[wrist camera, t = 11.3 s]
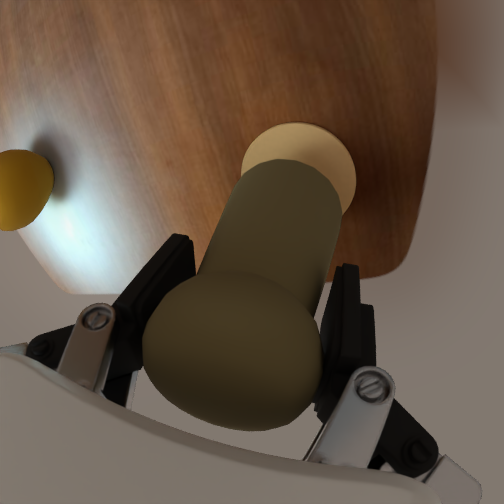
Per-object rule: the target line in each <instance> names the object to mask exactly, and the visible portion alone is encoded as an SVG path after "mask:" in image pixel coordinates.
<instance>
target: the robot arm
mask: <svg viewBox="0 0 504 504" xmlns="http://www.w3.org/2000/svg"><path fill="white" fill-rule="evenodd" d="M194 276H196V268H195V258H194V246H193V241H192V240H189V237H188V236H187V235H182V234H176V233H174V234H172V235H171V236H170V237H169V239H168V240H167V241H166V242H165V243H164V244H163V245H162V246H161V248H160V249H159V250H158V251H157V252H156V253H155V254H154V256H153V257H152V258H151V259H150V260H149V261H148V263H147V264H146V265H145V266H144V267H143V268H142V269H141V271H140V272H139V273H138V274H137V275H136V276H135V278H134V279H133V280H132V281H131V282H130V284H129V285H128V286H127V287H126V289H125V290H124V291H123V292H122V293H121V295H120V296H119V297H118V298H117V300H116V301H115V302H114V303H113V305H112V306H110V305H108V304H106V303H96V304H92V305H90V306H88V307H86V308H85V309H84V310H83V311H82V312H81V313H80V315H79V317H78V319H77V321H76V324H74V325H70V326H67V327H64V328H61V329H57V330H54V331H51V332H47V333H44V334H41V335H38V336H36V337H35V338H34V339H32V341H31V342H30V343H29V344H28V343H21V344H16V345H11V346H6V347H1V348H0V504H479V502H480V500H481V497H482V488H481V485H480V484H479V482H478V481H477V480H476V479H475V478H473V477H472V476H471V475H469V474H468V473H467V472H466V471H465V470H464V469H462V468H461V467H460V466H459V465H458V464H456V463H455V462H454V461H453V460H451V459H450V458H449V457H448V456H447V455H444V456H442V455H441V454H439V452H438V446H437V443H436V441H435V440H434V438H433V437H432V436H431V435H430V434H429V433H428V432H427V431H426V430H425V429H424V428H423V427H422V426H421V425H420V424H419V423H418V422H417V421H416V420H415V419H414V418H413V417H412V416H411V415H410V414H409V413H408V412H407V411H406V410H405V409H404V408H403V407H402V406H401V405H400V404H399V403H398V402H397V401H396V400H395V399H394V395H395V384H394V381H393V379H392V377H391V376H390V375H389V374H388V373H387V372H386V371H385V370H383V369H381V368H379V367H376V342H375V321H374V309H373V306H372V305H368V304H362V303H361V302H360V279H359V266H357V265H352V264H346V263H343V265H342V267H340V266H337V267H336V271H335V275H334V279H333V282H332V286H331V290H330V294H329V297H328V301H327V304H326V308H325V311H324V315H323V318H322V323H321V328H320V338H321V342H322V347H323V352H324V365H323V374H322V377H321V380H320V384H319V387H318V390H317V392H316V394H315V396H314V398H313V401H312V403H315V407H314V411H316V412H317V417H318V418H319V419H320V421H321V422H322V425H321V427H320V429H319V431H318V433H317V434H316V436H315V438H314V440H313V441H312V443H311V445H310V447H309V448H308V450H307V452H306V453H305V455H304V457H303V458H302V460H295V459H289V458H283V457H278V456H273V455H267V454H263V453H259V452H254V451H250V450H246V449H242V448H238V447H233V446H230V445H226V444H223V443H219V442H216V441H212V440H209V439H205V438H202V437H199V436H196V435H193V434H190V433H187V432H184V431H181V430H179V429H176V428H173V427H170V426H167V425H165V424H162V423H160V422H157V421H155V420H152V419H150V418H147V417H145V416H142V415H140V414H138V413H135V412H133V411H131V407H132V402H133V396H134V391H135V385H136V380H137V375H138V370H141V368H142V366H144V365H143V349H142V337H143V334H144V331H145V327H146V324H147V321H148V320H149V318H150V317H151V315H152V314H153V312H154V311H155V309H156V308H157V306H158V305H159V304H160V302H161V301H162V299H163V298H164V297H165V295H166V294H167V293H168V292H170V291H171V290H172V289H174V288H175V287H176V286H178V285H179V284H180V283H182V282H184V281H186V280H188V279H190V278H192V277H194Z"/></svg>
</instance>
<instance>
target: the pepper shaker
mask: <svg viewBox="0 0 504 504" xmlns="http://www.w3.org/2000/svg"><path fill="white" fill-rule="evenodd" d="M341 220H342V207H341V203H340V199H339V195H338V193H337V192H336V190H335V188H334V187H333V185H332V184H331V182H330V180H329V179H328V178H326V177H325V176H324V175H323V174H322V173H320V172H319V171H318V170H317V169H315V168H314V167H312V166H309V165H307V164H304V163H302V162H299V161H297V160H287V159H274V160H270V161H266V162H262V163H258V164H257V165H255V166H254V167H252V168H251V169H249V170H248V171H246V172H245V173H244V174H243V175H242V177H241V178H240V179H239V181H238V182H237V183H236V185H235V186H234V188H233V191H232V193H231V195H230V197H229V200H228V202H227V204H226V206H225V209H224V211H223V213H222V216H221V218H220V220H219V222H218V225H217V227H216V229H215V232H214V234H213V236H212V239H211V241H210V243H209V246H208V248H207V251H206V253H205V255H204V258H203V260H202V263H201V265H200V267H199V270H198V272H197V275H196V276H194V277H192V278H190V279H188V280H186V281H184V282H182V283H180V284H179V285H178V286H176V287H175V288H174V289H172V290H171V291H170V292H168V293H167V294H166V295H165V297H164V298H163V299H162V301H161V302H160V304H159V305H158V306H157V308H156V309H155V311H154V312H153V314H152V315H151V317H150V318H149V320H148V321H147V324H146V327H145V331H144V334H143V337H142V349H143V365H144V369H145V371H146V373H147V375H148V377H149V379H150V380H151V382H152V383H153V384H154V386H155V387H156V389H157V390H158V391H159V392H160V393H161V394H162V395H163V396H164V397H165V398H166V399H167V400H168V401H170V402H171V403H172V404H174V405H175V406H177V407H178V408H179V409H181V410H183V411H185V412H187V413H188V414H190V415H192V416H194V417H196V418H198V419H200V420H203V421H206V422H208V423H211V424H213V425H217V426H221V427H225V428H229V429H234V430H243V431H265V430H269V429H274V428H278V427H281V426H284V425H288V424H289V423H291V422H292V421H293V420H295V419H296V418H297V417H298V416H299V415H300V414H301V413H302V412H303V411H304V410H305V409H306V408H307V407H308V406H309V405H310V404H311V403H312V401H313V398H314V396H315V394H316V392H317V390H318V387H319V384H320V380H321V377H322V374H323V365H324V352H323V347H322V342H321V338H320V334H319V330H318V327H317V323H316V321H315V320H314V316H315V313H316V309H317V306H318V303H319V300H320V297H321V294H322V290H323V287H324V284H325V281H326V277H327V274H328V271H329V267H330V264H331V260H332V257H333V253H334V250H335V246H336V242H337V239H338V235H339V231H340V227H341Z"/></svg>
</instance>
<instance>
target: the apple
mask: <svg viewBox="0 0 504 504" xmlns="http://www.w3.org/2000/svg"><path fill="white" fill-rule="evenodd" d="M53 186H54V173H53V170H52V167H51V166H50V164H49V162H48V161H47V160H46V159H45V158H44V157H42V156H40V155H38V154H36V153H33V152H31V151H28V150H8V151H4V152H1V153H0V229H1V230H2V231H14V230H17V229H20V228H23V227H26V226H27V225H28V224H30V223H31V222H33V221H34V220H35V218H36V217H37V216H38V215H39V214H40V213H41V211H42V209H43V208H44V206H45V204H46V203H47V201H48V198H49V196H50V194H51V192H52V189H53Z"/></svg>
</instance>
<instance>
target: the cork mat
mask: <svg viewBox="0 0 504 504" xmlns="http://www.w3.org/2000/svg"><path fill="white" fill-rule="evenodd" d="M274 159H287V160H297V161H299V162H302V163H304V164H307V165H309V166H312V167H314V168H315V169H317V170H318V171H319V172H320V173H322V174H323V175H324V176H325V177H326V178H328V179H329V180H330V182H331V184H332V185H333V187H334V188H335V190H336V192H337V193H338V195H339V199H340V203H341V207H342V215H343V214H344V213H345V211H346V210H347V209H348V207H349V205H350V204H351V202H352V199H353V197H354V193H355V189H356V172H355V166H354V163H353V160H352V158H351V156H350V153H349V152H348V150H347V149H346V147H345V146H344V144H343V143H342V142H341V141H340V140H339V139H338V138H337V137H336V136H335V135H333V134H332V133H330V132H329V131H327V130H326V129H324V128H322V127H319V126H317V125H314V124H310V123H305V122H288V123H283V124H279V125H276V126H274V127H272V128H270V129H268V130H266V131H265V132H263V133H262V134H261V135H259V136H258V137H257V138H256V139H255V140H254V141H253V143H252V144H251V145H250V146H249V148H248V150H247V152H246V154H245V156H244V159H243V163H242V170H241V177H242V175H243V174H244V173H245V172H246V171H248V170H249V169H251V168H252V167H254V166H255V165H257V164H258V163H262V162H266V161H270V160H274Z"/></svg>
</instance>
